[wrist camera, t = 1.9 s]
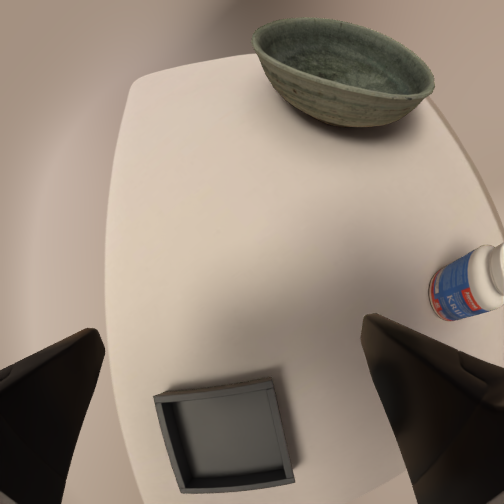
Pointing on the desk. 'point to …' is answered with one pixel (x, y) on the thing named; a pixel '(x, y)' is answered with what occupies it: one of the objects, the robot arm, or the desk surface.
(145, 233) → the desk surface
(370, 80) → the bowl
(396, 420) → the robot arm
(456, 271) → the pill bottle
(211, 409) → the tray
